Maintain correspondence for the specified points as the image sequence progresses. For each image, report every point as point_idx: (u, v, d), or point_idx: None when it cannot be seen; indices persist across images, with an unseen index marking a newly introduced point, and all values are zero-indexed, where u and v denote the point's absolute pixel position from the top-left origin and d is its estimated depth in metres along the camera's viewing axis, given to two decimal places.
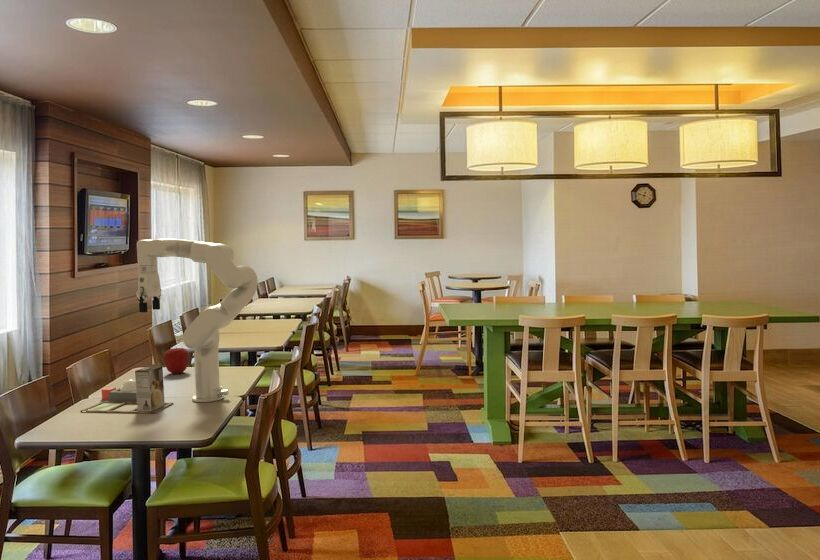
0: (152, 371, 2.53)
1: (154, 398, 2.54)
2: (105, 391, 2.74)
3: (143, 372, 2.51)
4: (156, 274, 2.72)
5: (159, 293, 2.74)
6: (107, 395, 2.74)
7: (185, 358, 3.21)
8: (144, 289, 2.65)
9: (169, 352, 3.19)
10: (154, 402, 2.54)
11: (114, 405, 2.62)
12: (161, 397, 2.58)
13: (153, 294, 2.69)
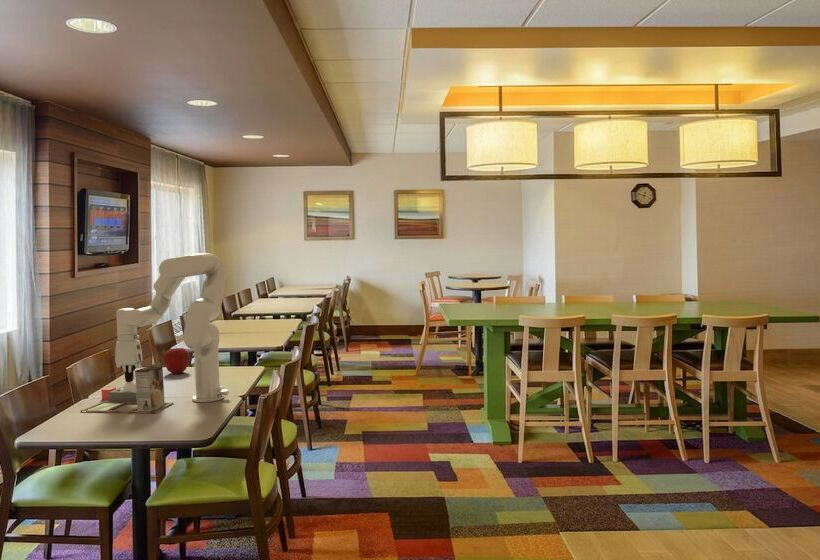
0: (152, 371, 2.53)
1: (154, 398, 2.54)
2: (105, 391, 2.74)
3: (143, 372, 2.51)
4: None
5: None
6: (107, 395, 2.74)
7: (185, 358, 3.21)
8: (140, 356, 2.73)
9: (169, 352, 3.19)
10: (154, 402, 2.54)
11: (114, 405, 2.62)
12: (161, 397, 2.58)
13: None
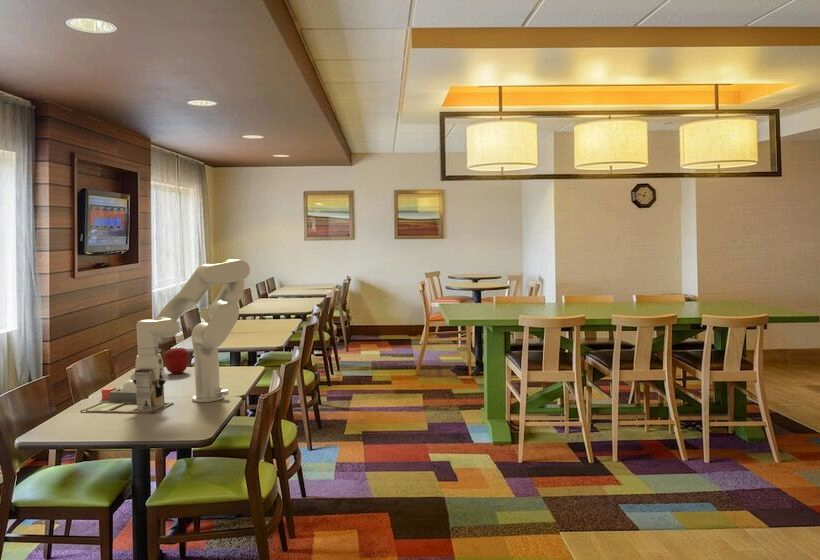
0: (152, 371, 2.53)
1: (154, 398, 2.54)
2: (105, 391, 2.74)
3: (143, 372, 2.51)
4: None
5: None
6: (107, 395, 2.74)
7: (185, 358, 3.21)
8: (162, 370, 2.56)
9: (169, 352, 3.19)
10: (154, 402, 2.54)
11: (114, 405, 2.62)
12: (161, 397, 2.58)
13: None
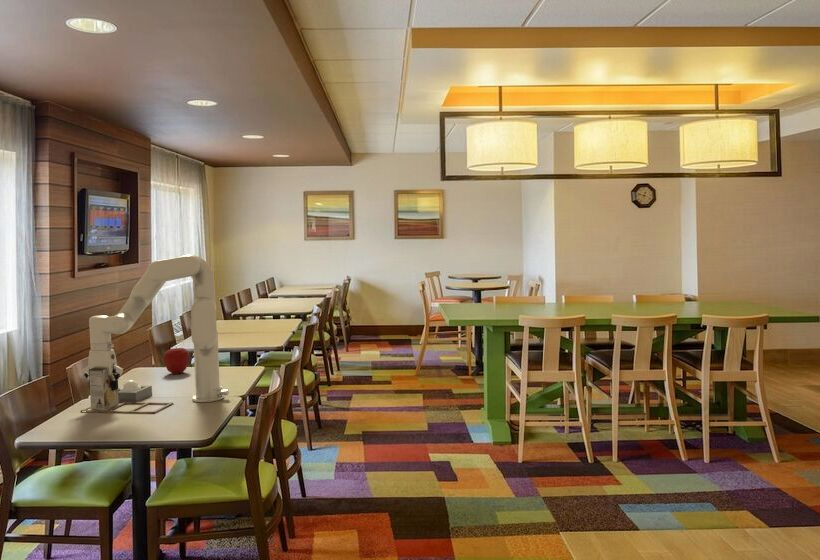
0: (106, 370, 2.56)
1: (108, 396, 2.57)
2: None
3: (97, 371, 2.54)
4: None
5: None
6: None
7: (185, 358, 3.21)
8: None
9: (169, 352, 3.19)
10: (107, 401, 2.57)
11: None
12: (115, 395, 2.61)
13: None
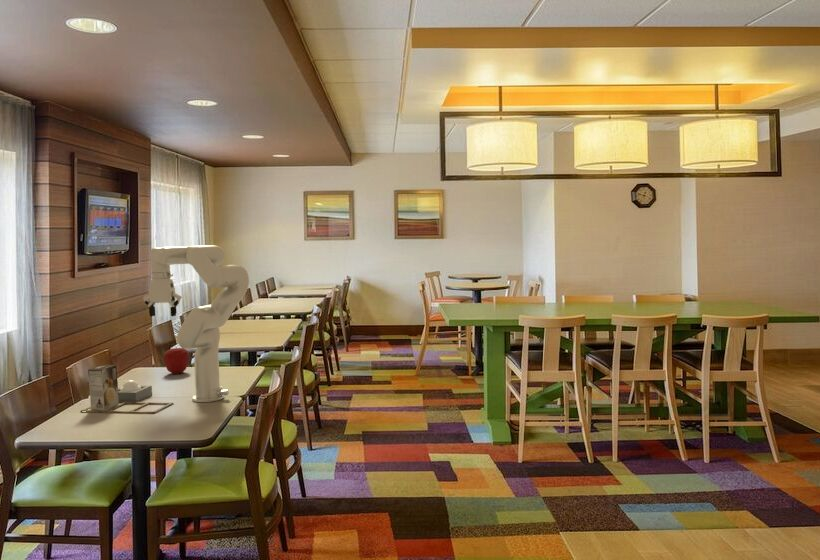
0: (105, 370, 2.56)
1: (108, 396, 2.57)
2: None
3: (96, 371, 2.54)
4: None
5: None
6: None
7: (185, 358, 3.21)
8: None
9: (169, 352, 3.19)
10: (107, 401, 2.57)
11: None
12: (115, 396, 2.61)
13: None
